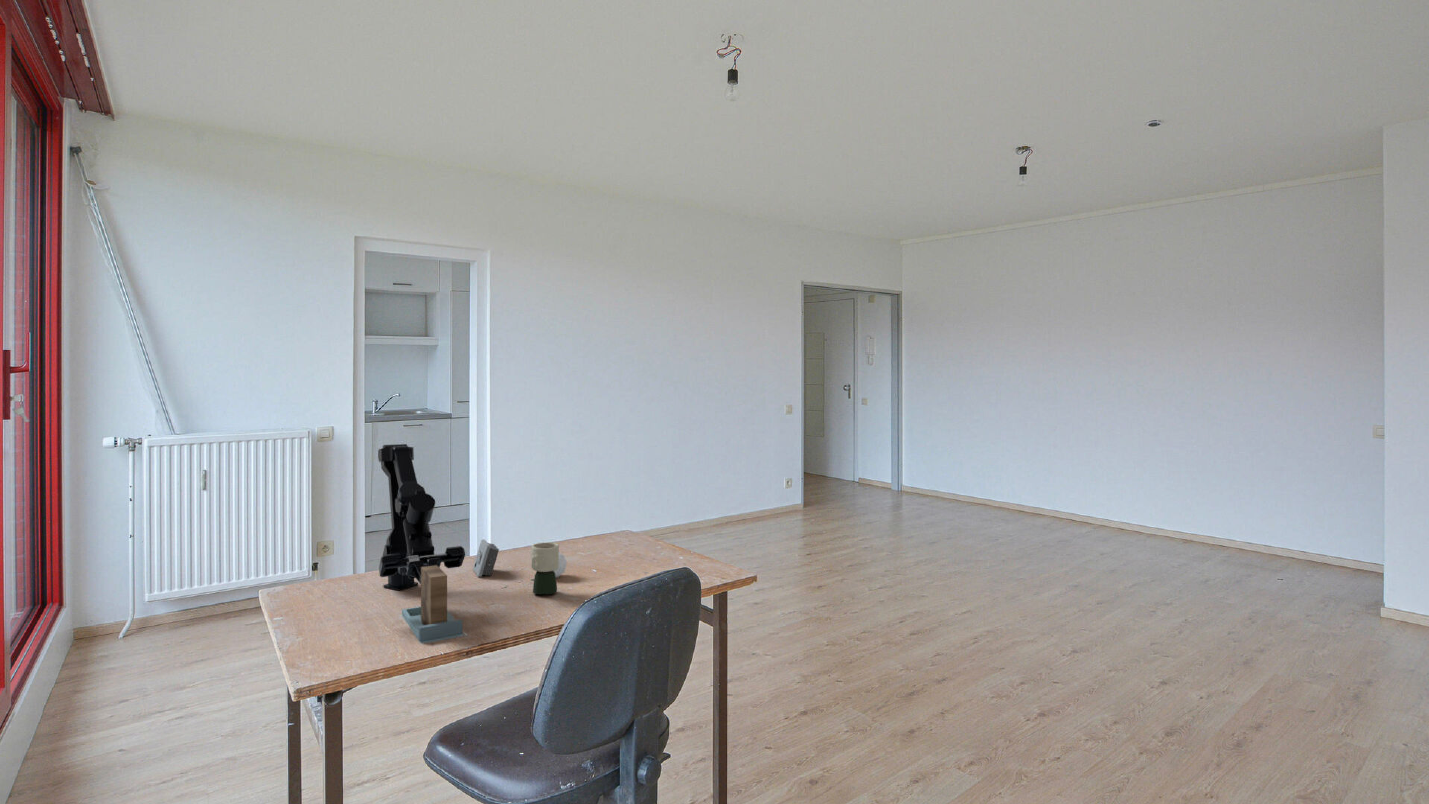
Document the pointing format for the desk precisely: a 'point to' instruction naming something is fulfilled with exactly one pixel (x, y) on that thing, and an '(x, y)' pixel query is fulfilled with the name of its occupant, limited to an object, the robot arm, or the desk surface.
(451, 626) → the slot base
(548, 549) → the character mug
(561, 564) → the geometric ball
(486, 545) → the electrical switch
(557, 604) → the desk surface
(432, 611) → the brown wooden block
